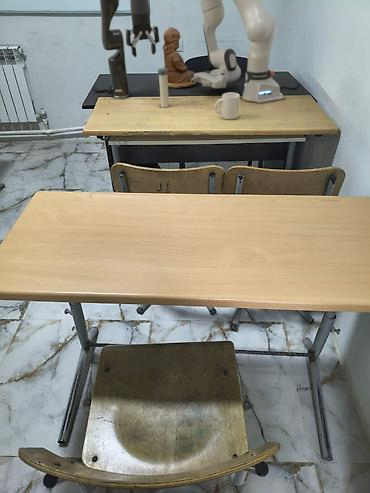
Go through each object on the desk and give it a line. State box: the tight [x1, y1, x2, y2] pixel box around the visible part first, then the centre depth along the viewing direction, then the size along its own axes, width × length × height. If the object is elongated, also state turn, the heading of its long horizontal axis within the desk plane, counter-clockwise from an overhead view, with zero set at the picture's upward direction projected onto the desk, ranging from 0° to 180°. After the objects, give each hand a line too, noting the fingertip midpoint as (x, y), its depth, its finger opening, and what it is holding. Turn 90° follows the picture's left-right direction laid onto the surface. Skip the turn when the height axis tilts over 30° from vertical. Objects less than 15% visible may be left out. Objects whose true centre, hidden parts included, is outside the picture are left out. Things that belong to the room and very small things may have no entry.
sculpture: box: [157, 27, 198, 89], centre depth 214 cm, size 27×24×30 cm
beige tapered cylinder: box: [158, 74, 170, 108], centre depth 186 cm, size 4×4×18 cm
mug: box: [214, 92, 241, 120], centre depth 173 cm, size 12×8×10 cm
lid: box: [157, 67, 168, 76], centre depth 181 cm, size 5×5×2 cm
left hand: (144, 55), depth 157 cm, fingers open, 8 cm apart
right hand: (197, 82), depth 197 cm, fingers open, 8 cm apart
